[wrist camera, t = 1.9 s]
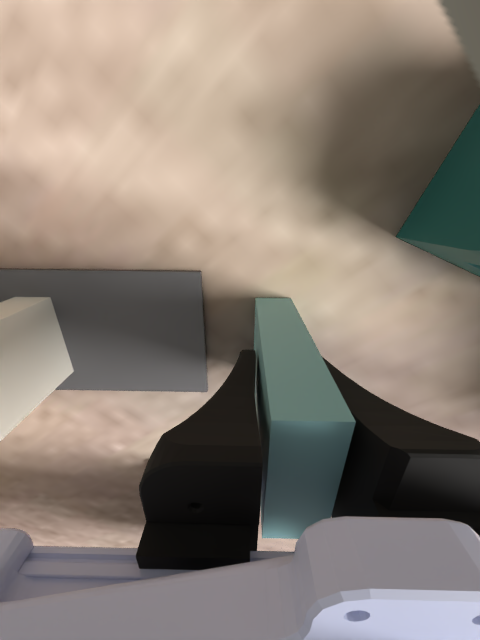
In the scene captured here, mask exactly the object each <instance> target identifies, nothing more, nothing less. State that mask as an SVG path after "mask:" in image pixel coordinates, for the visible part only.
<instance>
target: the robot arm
mask: <svg viewBox="0 0 480 640" xmlns="http://www.w3.org/2000/svg"><path fill="white" fill-rule="evenodd" d="M321 357H322V356H321ZM322 358H323V357H322ZM323 360H324V362H325V364H326V366H327V368H328V370H329V372H330V374H331V376H332V377H333V379H334V381H335V383H336V385H337V387H338V389H339V391H340V393H341V395H342V396H343V398H344V400H345V402H346V404H347V406H348V408H349V410H350V412H351V414H352V416H353V417H354V419H355V421H356V423H355V427H354V431H353V435H352V438H351V442H350V446H349V450H348V454H347V457H346V461H345V465H344V469H343V473H342V477H341V480H340V484H339V488H338V492H337V496H336V499H335V503H334V507H333V511H332V515H331V516H332V518H328V519H322V520H320V521H318V522H316V523H314V524H312V525H310V526H308V527H307V528H306V529H305V531H304V532H303V534H302V535H301V536H300V538H299V539H298V541H297V542H296V547H295V552H277V551H257V539H258V525H259V518H260V503H261V487H262V472H263V459H262V446H261V440H260V434H259V428H258V420H257V412H256V403H255V377H256V352H255V350H242V351H241V352H240V355H239V358H238V360H237V363H236V365H235V366H234V368H233V370H232V372H231V373H230V375H229V376H228V378H227V379H226V381H225V382H224V383H223V385H222V386H221V387H220V389H219V390H218V391H217V392H216V393H215V394H214V395H213V397H212V398H211V399H210V400H209V401H208V402H207V403H206V404H205V405H203V406H202V407H201V408H200V409H199V410H198V411H197V412H195V413H194V414H193V415H191V416H190V417H189V418H188V419H186V420H185V421H184V422H182V423H180V424H179V425H177V426H176V427H174V428H172V429H171V430H169V431H168V432H166V433H164V434H163V435H162V436H161V438H160V440H159V442H158V443H157V445H156V447H155V449H154V451H153V453H152V454H151V456H150V459H149V461H148V463H147V466H146V469H145V471H144V474H143V477H142V480H141V482H140V485H139V491H140V497H141V501H142V505H143V510H144V514H145V518H146V524H145V527H144V531H143V534H142V537H141V540H140V543H139V547H138V548H103V547H59V546H33V542H32V539H31V537H30V536H29V534H27V533H26V532H25V531H23V530H20V529H15V528H0V640H480V442H479V441H478V440H477V439H475V438H472V437H469V436H466V435H463V434H461V433H458V432H455V431H452V430H449V429H446V428H444V427H441V426H438V425H436V424H433V423H431V422H429V421H426V420H424V419H421V418H419V417H417V416H415V415H412V414H410V413H408V412H406V411H404V410H402V409H400V408H398V407H396V406H394V405H392V404H390V403H388V402H386V401H384V400H382V399H381V398H379V397H377V396H376V395H374V394H372V393H370V392H369V391H367V390H366V389H364V388H362V387H361V386H359V385H358V384H357V383H355V382H354V381H352V380H351V379H349V378H348V377H347V376H345V375H344V374H343V373H341V372H340V371H339V370H338V369H336V368H335V367H334V366H333V365H331V364H330V363H329V362H328V361H327V360H325V359H324V358H323Z"/></svg>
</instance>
